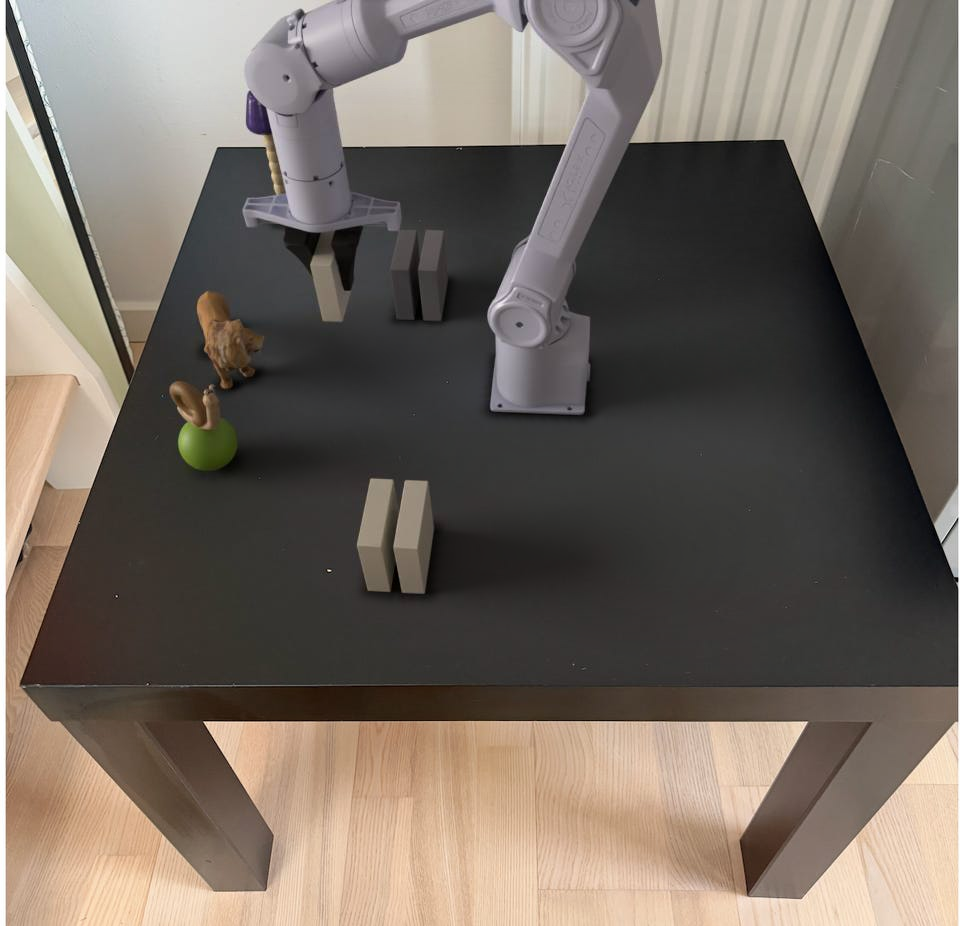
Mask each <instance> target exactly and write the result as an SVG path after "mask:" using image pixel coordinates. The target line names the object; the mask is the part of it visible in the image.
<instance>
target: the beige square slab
mask: <svg viewBox="0 0 960 926" xmlns="http://www.w3.org/2000/svg"><path fill="white" fill-rule="evenodd" d="M334 232H335V230H333V231H328V232H321V235H320V238H319V241H318V244H317V247H316V250H315V253H314V255H313V258H312V261H311V264H310V266H311V271H312V275H313V278H312V280H313V279H314V280H313V283H314V288H315V292H316V297H317V301H318V306H319V310H320V314H321V318H322V322H331V323H332V322H333V323H334V322H335V323H343V322H344V318H345V314H346V312H347V307H348V303H349V300H350V296H351V294H352V289H353V288H352V289H351V291H344V289H343V286H342V282H341V275H340V268H339V264H338V261H337V258H336V256H335V253H334V251H333V249H332V247H331V241H332V238H333V235H334ZM355 278H356V275H355V273H354V280H355ZM354 283H355V281H354V282H353V285H354ZM353 285H352V287H353Z"/></svg>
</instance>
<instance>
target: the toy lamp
mask: <svg viewBox="0 0 960 926" xmlns="http://www.w3.org/2000/svg"><path fill="white" fill-rule="evenodd" d="M245 102H246V103H245V126H246V128H247V130H248V131H249V132H251V133H252V134H253V135H258V136H262V137H263V144H264V147H265V149H266V157H267V159H268V161H269V162H268V166H269V170H270V171H271V174H270V175H271V180H272V182H273V190H274V192H275V195H279V194H285V193H286V190H285V186H284V182H283V177H282V173H281V169H280V165H279V160H278V156H277V152H276V147H275V143H274V139H273V135H272V130H271V126H270V122H269V118H268V113H267V109H266V107H265V106H264V105H262V104H261V103H260V102H259V101H258V100H257V99H256V98H255V96H254V95H253V94H252V92H251V91H250V89H249V90H248V91H247V94H246V101H245ZM279 225H281V226H283V225H282V224H279Z"/></svg>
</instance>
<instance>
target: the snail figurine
mask: <svg viewBox="0 0 960 926" xmlns="http://www.w3.org/2000/svg"><path fill="white" fill-rule="evenodd" d="M215 390H216V385H215V384H210V385H209V386H208V388H206V389H204V391H203V393H201V392H200V391H199V390H198V389H197V388H196V387H195V386H193V385H192V384H190V383H188V382H187V381H182V380H176V381H174V382H173V383H171V385H170V387H169V395H170V397H171V399H172V400H173V402H174V403H175V405H176V406H177V407H176V408H177V411H178V413H179V414H180V415H181V417H182V418H183V419H184V420H185V421H186V423H184V424H183V427H181V429H180V430H179V434H178V439H177V446H178V450H179V453H180V456H181V457H182V459H183V461H184V462H185V463H187V464H188V465H189V466H191V467H192V468H193V469H196V470H199V471H203V472H212V471H217V470H220V469H223V468H224V467H225V466H227V465H228V464H229V463H231V461H232V460H233V459H234V457H235V455H236V453H237V449H238V437H237V433H236V431H235V429H234V427H233V425H231V423H230V422H229V421H228V420H226V419H225V418H224V417H221V410H220V405H219V403H220V400H219V397H218V396H217V395H216V392H215ZM211 391H213V392H211ZM203 394H204V395H203Z"/></svg>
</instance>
